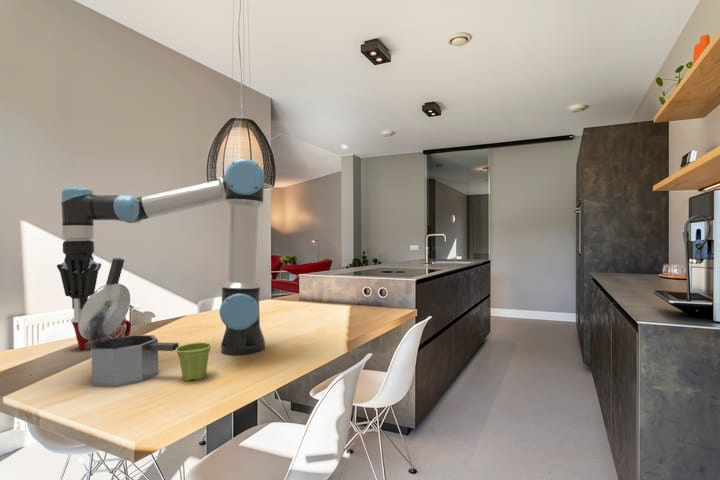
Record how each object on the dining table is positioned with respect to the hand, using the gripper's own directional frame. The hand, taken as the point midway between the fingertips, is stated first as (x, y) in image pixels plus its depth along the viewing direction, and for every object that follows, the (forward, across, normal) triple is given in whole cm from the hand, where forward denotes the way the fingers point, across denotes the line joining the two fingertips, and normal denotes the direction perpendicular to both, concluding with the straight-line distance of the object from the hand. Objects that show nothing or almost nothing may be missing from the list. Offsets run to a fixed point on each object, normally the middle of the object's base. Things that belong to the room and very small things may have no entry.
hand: (80, 319), depth 115 cm
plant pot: (+17, -36, -1) cm, 39 cm away
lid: (-5, -10, 0) cm, 12 cm away
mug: (+17, +3, -17) cm, 24 cm away
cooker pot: (+16, -17, 0) cm, 23 cm away
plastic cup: (+16, +24, -27) cm, 39 cm away
